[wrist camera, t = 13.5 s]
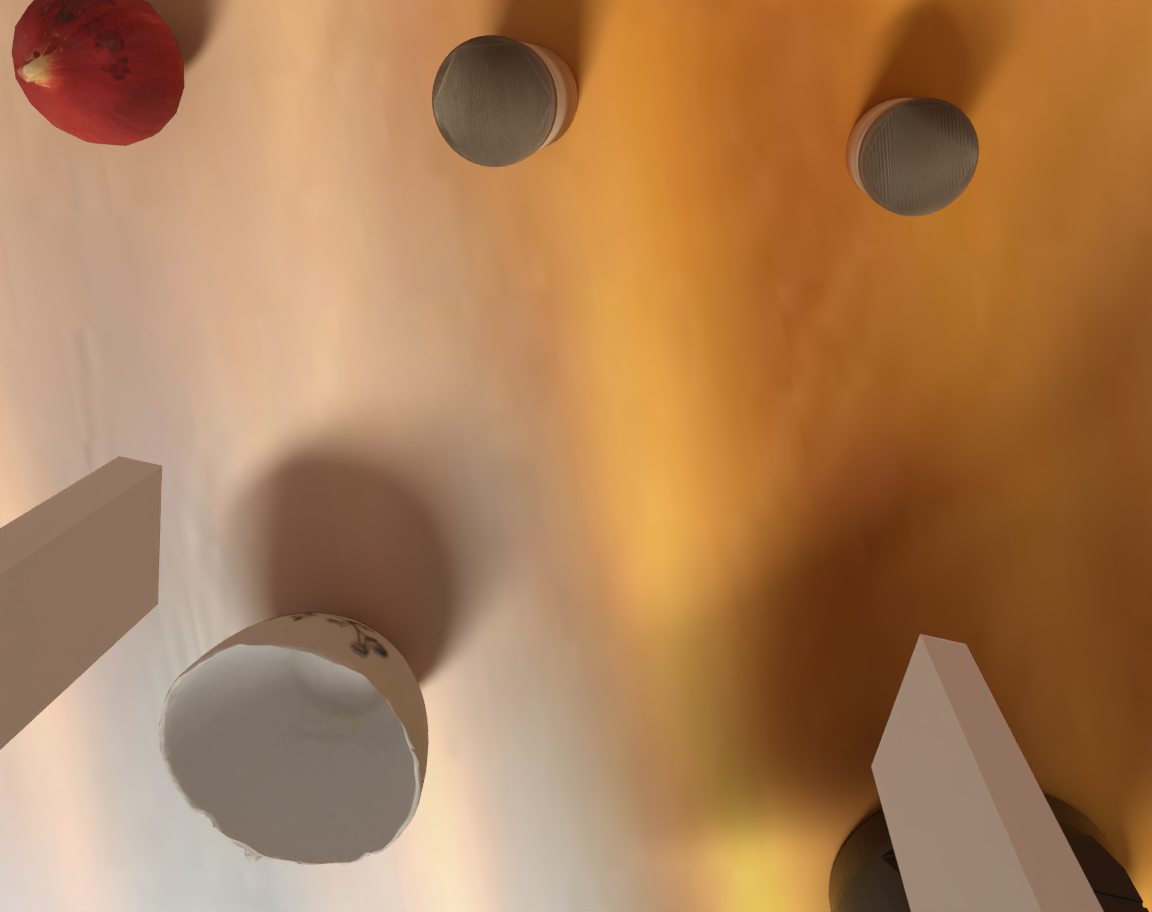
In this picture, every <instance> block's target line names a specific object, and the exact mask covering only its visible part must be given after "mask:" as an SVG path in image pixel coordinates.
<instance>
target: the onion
mask: <svg viewBox="0 0 1152 912" xmlns="http://www.w3.org/2000/svg"><path fill="white" fill-rule="evenodd" d="M12 57H13V63H14V70H15V76H16V80H17V81H18V83H19V85H20V86H21V88H22V90H23V91H24V93H25V95H26V97H27V98H28V100H29V102H30V103H31V104H32V105H33V106H34V107H35V108H36V109H37V110H38V111H39V112H40V113H41V114H42V115H43V116H44V117H45V118H46V119H47V120H48V121H49V122H50V123H51V124H52V125H54V126H55V127H57V128H59V129H60V130H63V131H65V132H67V133H69V134H71V135H73V136H75V137H77V138H80V139H82V140H84V141H86V142H91V143H97V144H109V145H123V146H127V145H130V144H133V143H135V142H138V141H141V140H143V139H146V138H149V137H152V136H154V135H155V134H157V133H158V132H160V131H161V130H162V128H163V127H164V126H165V125H166V124H167V123H168V122H169V120H170V119H171V118H172V117H173V116H174V115H175V114H176V112H177V109H178V106H179V102H180V99H181V96H182V93H183V89H184V62H183V60H182V57H181V54H180V51H179V49H178V46H177V43H176V41H175V38H174V36H173V33H172V31H171V30H170V28H169V27H168V26H167V25H166V24H165V22H164V21H163V20H162V19H161V17H160V16H159V15H158V14H157V12H156V11H155V10H154V9H153V7H152V6H151V5H150V4H149V3H147V2H145V1H143V0H34V1H33V2H32V3H31V4H30V5H29V6H28V8H27V9H26V11H25V12H24V14H23V15H22V17H21V19H20V20H19V22H18V23H17V25H16V26H15V32H14V40H13V47H12Z"/></svg>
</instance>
